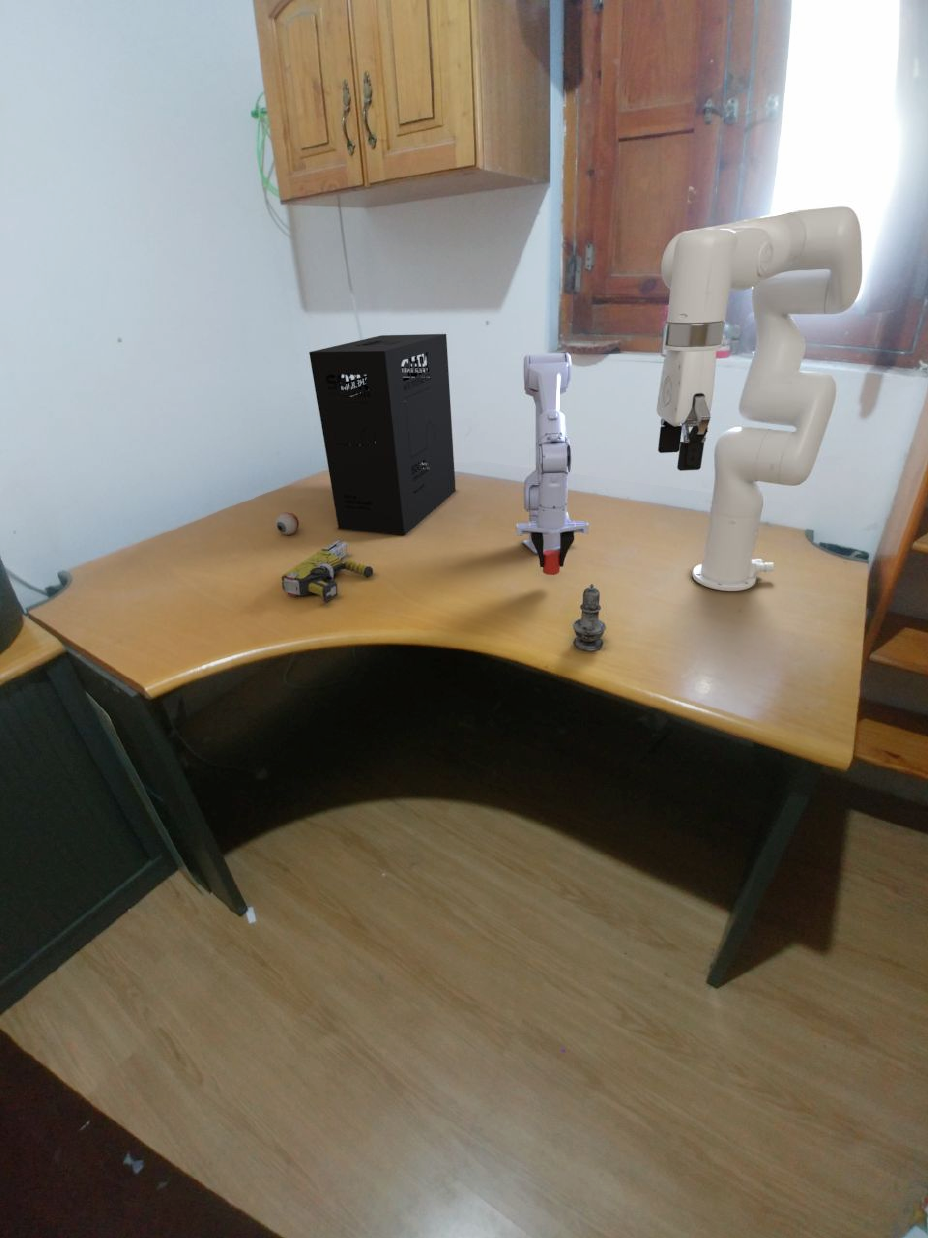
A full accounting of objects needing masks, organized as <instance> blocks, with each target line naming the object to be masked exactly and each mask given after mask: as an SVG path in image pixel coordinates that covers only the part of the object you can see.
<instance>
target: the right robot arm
mask: <svg viewBox="0 0 928 1238" xmlns="http://www.w3.org/2000/svg"><path fill="white" fill-rule="evenodd" d="M862 243H863V241H862V230H861V225H860V221H859V217H858V216H857V214H856V212H855V210H854V209H852V207H849V206H845V205H843V206H831V207H823V208H822V207H820V208H819V207H818V208H810V209H809V208H808V209H800V210H799V209H797V210H788V211H783V212H779V213H774V214H769V215H762V216H758V217H753V218H748V219H747V218H746V219H742V220H737V221H734V222H729V223H725V224H720V225H714V226H708V227H703V228H696V229H692V230H686V231H681V232H679V233H677V234H676V235H675V236H674V237H673V238H672V239H670V241H669V243H668V244H667V245H666V248H665V250H664V252H663V254H662V259H661V265H660V272H661V278H662V281H663V284H664V285H665V286H666V288H667V289H668V290H669V297H668V309H667V317H666V325H665V326H666V327H665V337H664V343H663V345H664V346H663V349H664V350H666V352H665V354H664V355H665V357H664V360H663V366H662V370H661V375H660V376H661V377H660V382H659V383H660V384H659V389H658V397H657V402H656V403H657V404H656V413H657V415H658V416H659V417H660V418H661V419H660V429H659V436H658V447H657V451H658V452H659V454H668V453H669V454H670V453H678V458H677V465H676V468H677V470H678V471H684V472H685V471H699V470H700V469H701V468H702V461H703V454H704V449H705V448H704V447H705V443H706V440H707V433H708V432H709V423H710V421H711V415H712V414H711V410H712V405H713V404H712V403H713V396H714V388H715V378H716V366H717V350H719V349H721V348H722V347H723V341H724V340H723V339H724V332H725V325H726V319H727V312H728V306H729V299H730V292H740V291H741V292H742V291H747V290H750V289H751V295H752V296H751V300H752V311H753V319H754V324H755V331H756V345H755V350H754V353H753V356H752V360H751V363H750V365H749V369H748V371H747V372H748V373H747V376H746V379H745V382H744V385H743V388H742V391H741V395H740V398H739V402H738V412H739V415H740V417H741V418H742V419H744V420H746V421H749V422H754V423H759V424H768V425H777V426H778V425H779V426H788V427H794V428H795V429H796V430H795V431H789V430H780V429H779V430H778V429H773V428H764V427H763V428H762V427H753V426H737V427H736V426H735V427H732V428H729V429H727V430H725V431H724V432H722V433H721V434H720V435H719V437H718V439H717V441H716V443H715V446H714V451H713V452H714V453H713V454H714V455H713V465H714V467H713V468H714V477H713V478H714V481H713V491H712V497H711V498H712V499H711V505H710V509H709V516H708V523H707V529H706V535H705V536H706V537H705V541H704V547H703V554H702V560H701V563H699V564H698V565H695V566H694V567H693V569H692V578H693V580H694V581H695V582H697V583H698V584H700V585H701V586H704V587H706V588H709V589H711V590H717V591H722V592H723V591H724V592H740V591H745V590H748V589H750V588H752V587H754V585H756V582H757V575H756V574H758V573H759V572H763V573H765V572H774V570H775V564H774V562H772V561H769V562H764V561H763V559H762V558H755V559H754V558H753V557H754V552H755V546H756V542H757V537H758V531H759V528H760V521H761V517H762V513H763V507H764V497H763V492H762V490H761V488H760V486H759V484H758V482H760V483H766V484H767V483H768V484H773V485H781V486H790V487H791V486H800V485H802V484H804V483H805V482H806V481H807V480H808V478H809V477H810V476H811V475H810V474H811V472H812V471H813V469H814V465H815V463H816V460H817V458H818V454H819V452H820V448H821V445H822V442H823V439H824V436H825V433H826V430H827V427H828V424H829V422H830V418H831V416H832V413H833V410H834V406H835V403H836V397H837V384H836V381H835V379H834V377H833V376H831V375H830V374H828V373H825V372H819V371H807V370H806V371H804V370H803V371H802V370H800V369H801V366H802V362H803V359H804V356H805V353H806V349H807V343H806V339H805V337H804V335H803V332H802V330H801V329H800V327H799V326H798V324H797V323H796V321H795V320H794V318H793V317H792V315H837V314H841V313H844V312H845V311H846V312H847V310H849V309H850V308H851V307H852V306H853V305H854V303H855V302H856V300H857V298H858V295H859V294H860V291H861V288H862V287H861V286H862V280H863V254H862V253H863V248H862V247H863V244H862ZM690 428H691V429H690ZM681 439H682V441H681Z"/></svg>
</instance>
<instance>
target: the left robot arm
mask: <svg viewBox="0 0 928 1238" xmlns="http://www.w3.org/2000/svg"><path fill="white" fill-rule="evenodd" d="M571 377H572V357H571V355H570V353H569V352H565V353H549V354H548V353H547V354H525V356H524V357H523V390H524V393H525V395H528V396H531V397H532V398H533V402H534V405H535V469H534V470H533V471H532V472H531V473H529V474H528V475H527V476H526V477H525V478H524V479H525V480H524V481H523V508H524V511H525V512H528V513H529V514H528V522H522V523H516V536H517V537H520V536H521V537H522V536H523V535H528V539H524V540H523V541H522V543H523V544H524V545H525V546H526V547H527V548H528V549H530V550H531V551H532V552H533V553H534V554H537V557H538V560H539V567H540V568H543V567H544V559H543V552H544V551H546V550H550V549H553V550H558V551H559V552H560V568H562V567H564V563H565V560H566V556H567V554H568V552H569V550H570V548H571V546H572V545H573V544H574V541H575V533H576V534H577V533H579V534H581V533H582V534H583V535H585V534H586V535H587V534H589V526H590V525H589V522H588V521H585V520H584V521H581V520H571V519H570V514H569V512H568V489H569V487H568V486H569V473H571V469H572V465H573V464H572V463H573V452H572V451H573V450H572V446H571V442H570V437H568V431H567V429H568V428H567V418H566V416H565V414H564V413H562V412H561V411H560V403H561V401H560V400H561V399H560V398H561V397H560V396H561V395H563V394H564V393H566V392H567V389H569V384H570V382H571Z"/></svg>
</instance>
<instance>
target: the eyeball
mask: <svg viewBox="0 0 928 1238" xmlns="http://www.w3.org/2000/svg"><path fill="white" fill-rule="evenodd" d="M299 525H300V522H299V519H298V517H297V516H296V515H295V514H294V513H292V512H287V511H286V512H282V513H280V514H279V515H278V516H277V517H276V520H275V527H276V529H277V530H278V531H279V532H280V533H281V534H282V535H285V536H286V535H287V536H289V535H293V534H295V533H296V532H297V531H298V529H299Z"/></svg>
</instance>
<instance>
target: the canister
mask: <svg viewBox="0 0 928 1238" xmlns="http://www.w3.org/2000/svg"><path fill="white" fill-rule="evenodd" d="M543 559H544V567H542V573H543V574H544V575H547V576H555V575H558V574H559V573H560V570H561V569H560V568H561V567H560V550H553V549H550V550H546V551H544V552H543Z"/></svg>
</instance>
